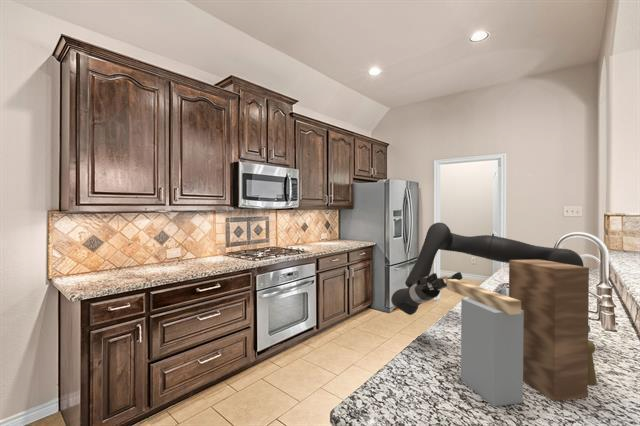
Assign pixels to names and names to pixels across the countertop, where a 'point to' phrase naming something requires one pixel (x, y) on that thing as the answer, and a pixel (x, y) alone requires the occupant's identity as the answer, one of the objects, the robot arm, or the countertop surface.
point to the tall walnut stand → (553, 325)
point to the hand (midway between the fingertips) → (448, 275)
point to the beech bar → (485, 296)
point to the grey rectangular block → (492, 352)
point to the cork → (591, 364)
